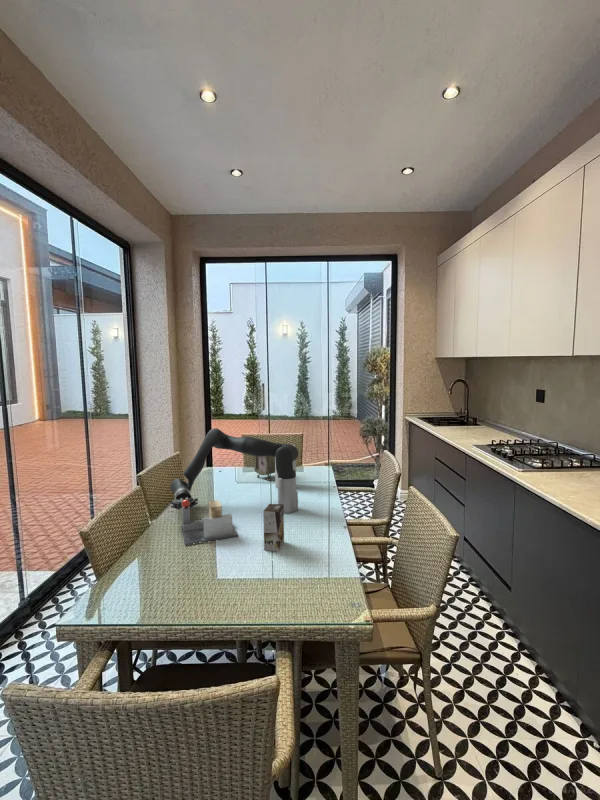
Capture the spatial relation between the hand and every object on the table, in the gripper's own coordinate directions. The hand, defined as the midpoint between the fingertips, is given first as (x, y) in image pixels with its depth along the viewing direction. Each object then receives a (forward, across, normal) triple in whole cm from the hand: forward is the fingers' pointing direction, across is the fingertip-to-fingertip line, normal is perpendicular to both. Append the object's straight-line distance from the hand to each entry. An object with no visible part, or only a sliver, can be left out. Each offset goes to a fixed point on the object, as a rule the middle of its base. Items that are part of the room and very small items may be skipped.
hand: (185, 509), depth 175 cm
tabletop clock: (-67, +56, +10) cm, 87 cm away
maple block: (+7, +12, +9) cm, 17 cm away
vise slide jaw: (+1, +9, +9) cm, 13 cm away
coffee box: (+29, +32, +10) cm, 45 cm away
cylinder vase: (-45, +62, +10) cm, 77 cm away
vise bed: (+6, +9, +10) cm, 15 cm away
